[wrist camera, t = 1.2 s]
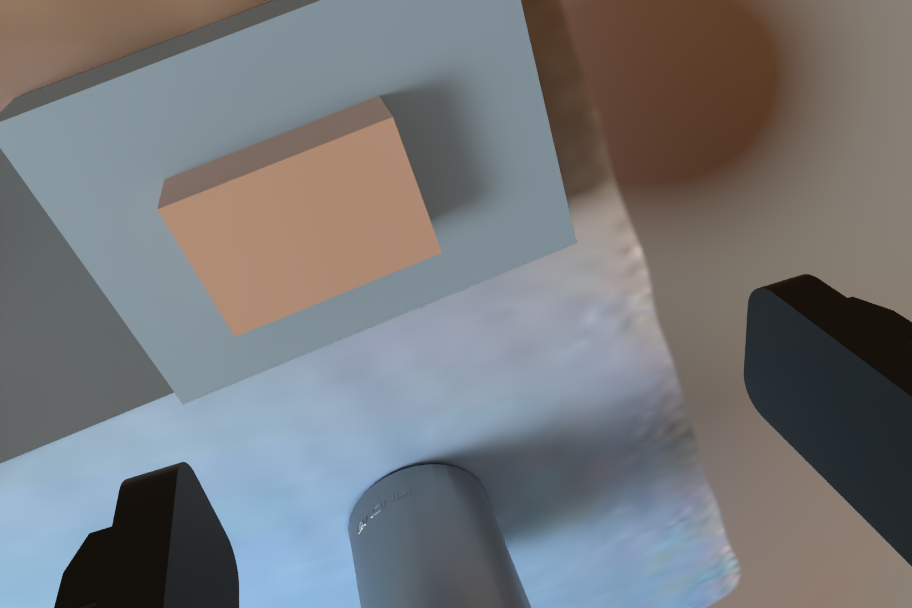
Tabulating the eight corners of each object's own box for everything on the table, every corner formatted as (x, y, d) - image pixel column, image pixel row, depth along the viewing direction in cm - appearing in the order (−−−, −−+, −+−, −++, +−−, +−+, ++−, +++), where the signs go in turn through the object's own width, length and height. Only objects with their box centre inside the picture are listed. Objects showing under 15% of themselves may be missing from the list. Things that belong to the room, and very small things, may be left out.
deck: (474, -76, 30) (504, -70, 26) (546, 210, 37) (576, 243, 34) (14, 98, 28) (-15, 127, 25) (187, 356, 36) (183, 404, 33)
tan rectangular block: (378, 95, 28) (392, 116, 26) (425, 223, 32) (442, 252, 29) (164, 179, 28) (157, 209, 25) (234, 300, 31) (234, 337, 28)
